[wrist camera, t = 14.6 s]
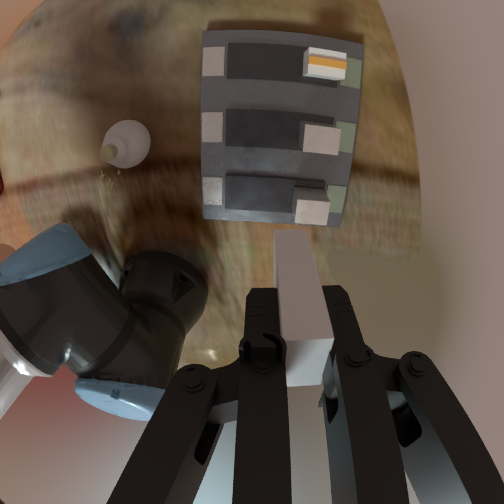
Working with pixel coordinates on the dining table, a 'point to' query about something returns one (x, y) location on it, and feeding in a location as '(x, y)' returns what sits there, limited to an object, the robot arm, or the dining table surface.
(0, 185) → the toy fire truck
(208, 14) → the dining table surface
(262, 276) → the dining table surface
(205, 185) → the panel
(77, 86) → the dining table surface
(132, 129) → the ornament
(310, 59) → the knob
